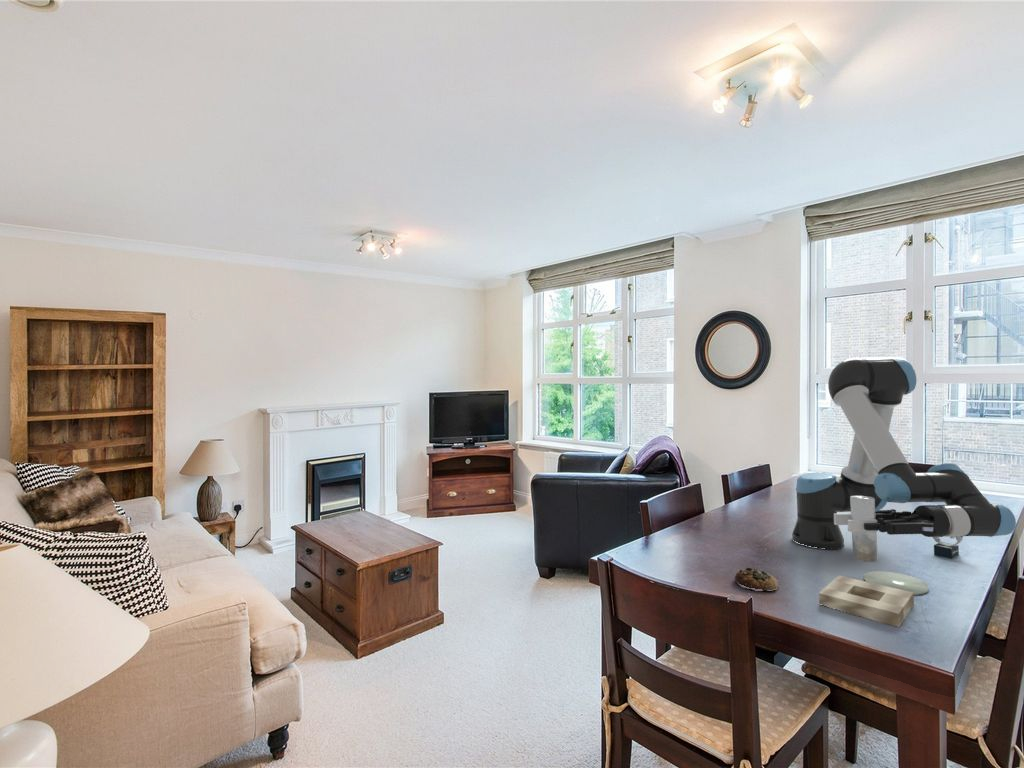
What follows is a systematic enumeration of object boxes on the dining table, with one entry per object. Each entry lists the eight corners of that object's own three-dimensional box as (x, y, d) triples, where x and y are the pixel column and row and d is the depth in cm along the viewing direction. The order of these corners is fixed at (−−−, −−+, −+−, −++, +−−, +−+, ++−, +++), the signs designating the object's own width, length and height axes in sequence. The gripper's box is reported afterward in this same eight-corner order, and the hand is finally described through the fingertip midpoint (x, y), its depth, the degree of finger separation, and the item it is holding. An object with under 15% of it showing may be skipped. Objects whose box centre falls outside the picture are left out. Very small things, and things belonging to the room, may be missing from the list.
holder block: (819, 605, 125) (818, 593, 125) (839, 586, 136) (838, 575, 136) (899, 627, 113) (898, 613, 113) (913, 604, 124) (913, 592, 124)
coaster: (857, 584, 137) (857, 581, 137) (871, 570, 146) (871, 567, 146) (923, 599, 126) (923, 596, 126) (933, 583, 136) (933, 580, 136)
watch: (959, 560, 152) (958, 524, 152) (927, 553, 159) (926, 518, 159) (967, 556, 154) (966, 521, 154) (934, 549, 161) (933, 515, 161)
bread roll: (727, 585, 139) (728, 566, 139) (743, 579, 147) (744, 561, 147) (770, 598, 131) (771, 578, 131) (785, 591, 138) (786, 572, 139)
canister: (850, 558, 124) (847, 498, 125) (856, 554, 128) (853, 494, 128) (874, 563, 121) (871, 500, 121) (880, 558, 124) (877, 497, 124)
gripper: (971, 548, 114) (865, 549, 116) (912, 525, 132) (821, 526, 134) (970, 515, 114) (864, 517, 116) (911, 497, 132) (820, 498, 134)
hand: (841, 522), depth 125 cm, fingers closed on canister, 5 cm apart
